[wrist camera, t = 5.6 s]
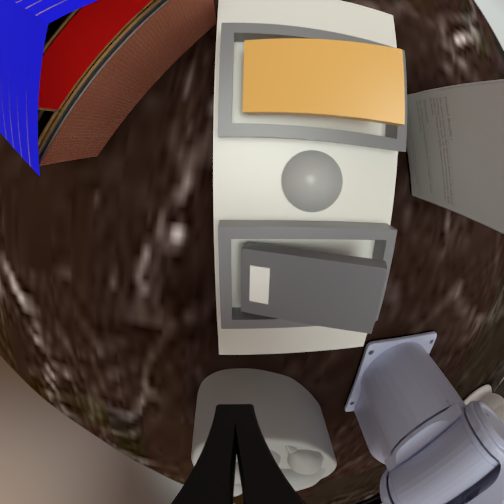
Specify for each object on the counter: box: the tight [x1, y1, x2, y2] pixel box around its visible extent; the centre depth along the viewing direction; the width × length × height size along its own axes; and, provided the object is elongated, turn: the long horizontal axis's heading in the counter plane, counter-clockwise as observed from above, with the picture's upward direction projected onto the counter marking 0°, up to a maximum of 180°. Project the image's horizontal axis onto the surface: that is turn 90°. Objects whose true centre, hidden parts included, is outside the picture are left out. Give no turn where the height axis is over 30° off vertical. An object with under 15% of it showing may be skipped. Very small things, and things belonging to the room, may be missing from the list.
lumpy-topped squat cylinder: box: [191, 368, 337, 496], centre depth 20 cm, size 10×13×9 cm
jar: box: [463, 385, 504, 424], centre depth 23 cm, size 11×10×15 cm
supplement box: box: [406, 79, 504, 234], centre depth 10 cm, size 7×7×13 cm
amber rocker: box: [242, 38, 405, 126], centre depth 10 cm, size 4×7×1 cm, turn 89°
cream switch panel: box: [213, 0, 407, 355], centre depth 15 cm, size 22×10×4 cm, turn 179°
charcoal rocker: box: [241, 242, 387, 334], centre depth 14 cm, size 4×7×1 cm, turn 89°
